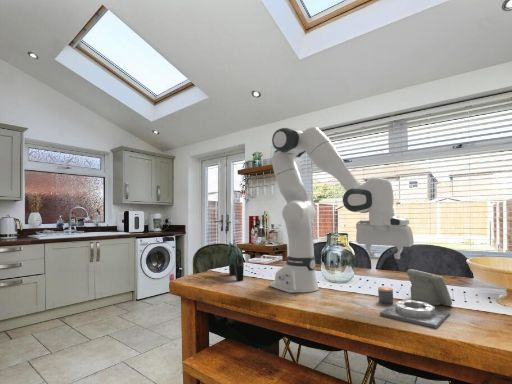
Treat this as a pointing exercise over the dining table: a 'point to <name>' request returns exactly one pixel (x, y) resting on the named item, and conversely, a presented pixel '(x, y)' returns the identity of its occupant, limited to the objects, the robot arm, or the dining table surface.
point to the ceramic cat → (235, 261)
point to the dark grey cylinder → (385, 295)
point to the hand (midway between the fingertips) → (384, 257)
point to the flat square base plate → (416, 313)
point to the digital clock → (428, 288)
